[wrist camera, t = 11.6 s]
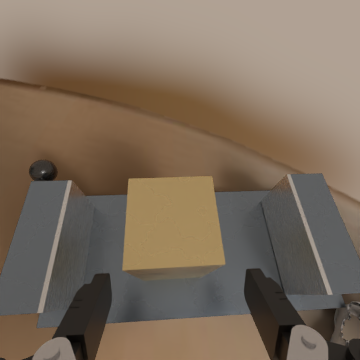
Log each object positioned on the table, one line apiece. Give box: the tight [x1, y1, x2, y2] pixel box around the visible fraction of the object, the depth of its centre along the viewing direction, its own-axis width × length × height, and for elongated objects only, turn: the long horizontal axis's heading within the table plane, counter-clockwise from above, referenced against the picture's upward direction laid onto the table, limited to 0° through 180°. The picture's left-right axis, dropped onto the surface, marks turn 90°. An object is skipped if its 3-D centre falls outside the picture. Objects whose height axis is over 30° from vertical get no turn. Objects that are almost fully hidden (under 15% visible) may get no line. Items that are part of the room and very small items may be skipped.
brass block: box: [122, 176, 225, 281], centre depth 15 cm, size 5×5×9 cm
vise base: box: [0, 160, 346, 328], centre depth 18 cm, size 27×13×7 cm, turn 93°
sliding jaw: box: [261, 174, 360, 295], centre depth 17 cm, size 3×9×6 cm, turn 3°
